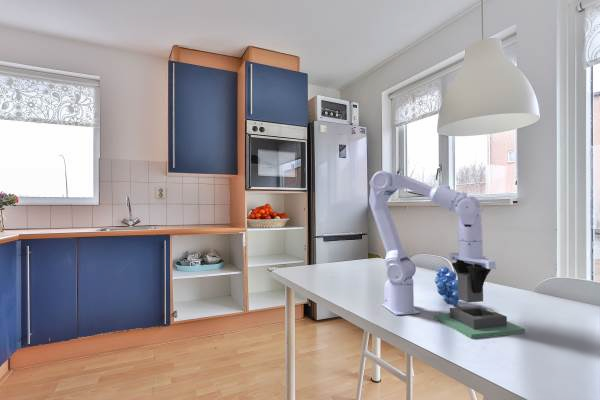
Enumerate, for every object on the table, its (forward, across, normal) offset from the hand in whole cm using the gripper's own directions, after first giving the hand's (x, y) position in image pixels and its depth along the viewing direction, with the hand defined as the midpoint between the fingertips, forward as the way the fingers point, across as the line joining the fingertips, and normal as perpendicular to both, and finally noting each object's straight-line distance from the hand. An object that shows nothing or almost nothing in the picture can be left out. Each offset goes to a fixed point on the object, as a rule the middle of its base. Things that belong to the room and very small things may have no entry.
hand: (471, 290), depth 82 cm
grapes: (+10, +18, -6) cm, 21 cm away
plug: (+2, 0, 0) cm, 3 cm away
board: (+10, 0, -2) cm, 10 cm away
